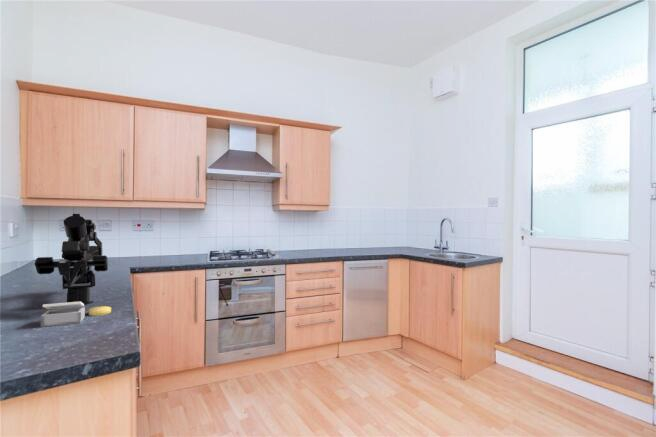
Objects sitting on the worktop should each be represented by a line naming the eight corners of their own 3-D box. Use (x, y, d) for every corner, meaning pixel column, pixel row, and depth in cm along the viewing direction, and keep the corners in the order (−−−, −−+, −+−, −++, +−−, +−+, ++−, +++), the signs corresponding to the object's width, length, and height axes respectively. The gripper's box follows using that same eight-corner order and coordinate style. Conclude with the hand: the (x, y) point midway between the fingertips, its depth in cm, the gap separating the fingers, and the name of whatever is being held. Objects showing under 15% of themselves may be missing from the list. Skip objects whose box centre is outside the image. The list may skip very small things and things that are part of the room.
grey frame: (47, 320, 98) (47, 309, 98) (84, 316, 103) (84, 306, 103) (40, 327, 92) (41, 315, 92) (80, 322, 96) (80, 311, 96)
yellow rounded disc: (102, 310, 110) (102, 305, 110) (115, 312, 109) (115, 307, 109) (83, 314, 105) (84, 309, 105) (97, 317, 103) (97, 312, 103)
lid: (48, 309, 98) (48, 307, 98) (83, 306, 102) (84, 304, 103) (42, 306, 93) (42, 304, 93) (80, 303, 97) (80, 301, 97)
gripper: (36, 231, 103) (24, 272, 94) (107, 231, 112) (103, 268, 103) (43, 254, 110) (32, 294, 101) (109, 252, 119) (105, 288, 109)
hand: (69, 285), depth 103 cm, fingers closed
